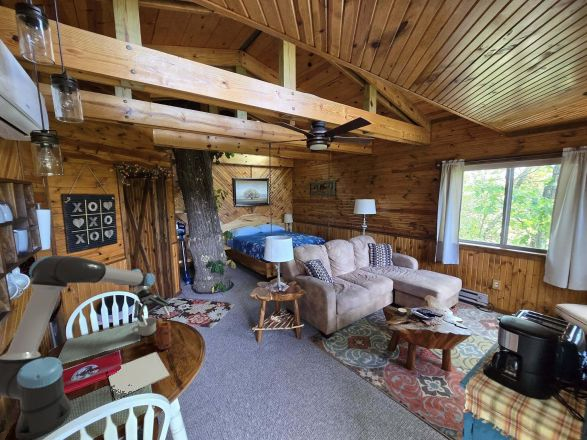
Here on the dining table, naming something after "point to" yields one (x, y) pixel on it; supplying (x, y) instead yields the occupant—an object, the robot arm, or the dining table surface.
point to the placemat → (139, 373)
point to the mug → (163, 334)
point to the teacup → (148, 329)
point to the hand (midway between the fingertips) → (157, 320)
